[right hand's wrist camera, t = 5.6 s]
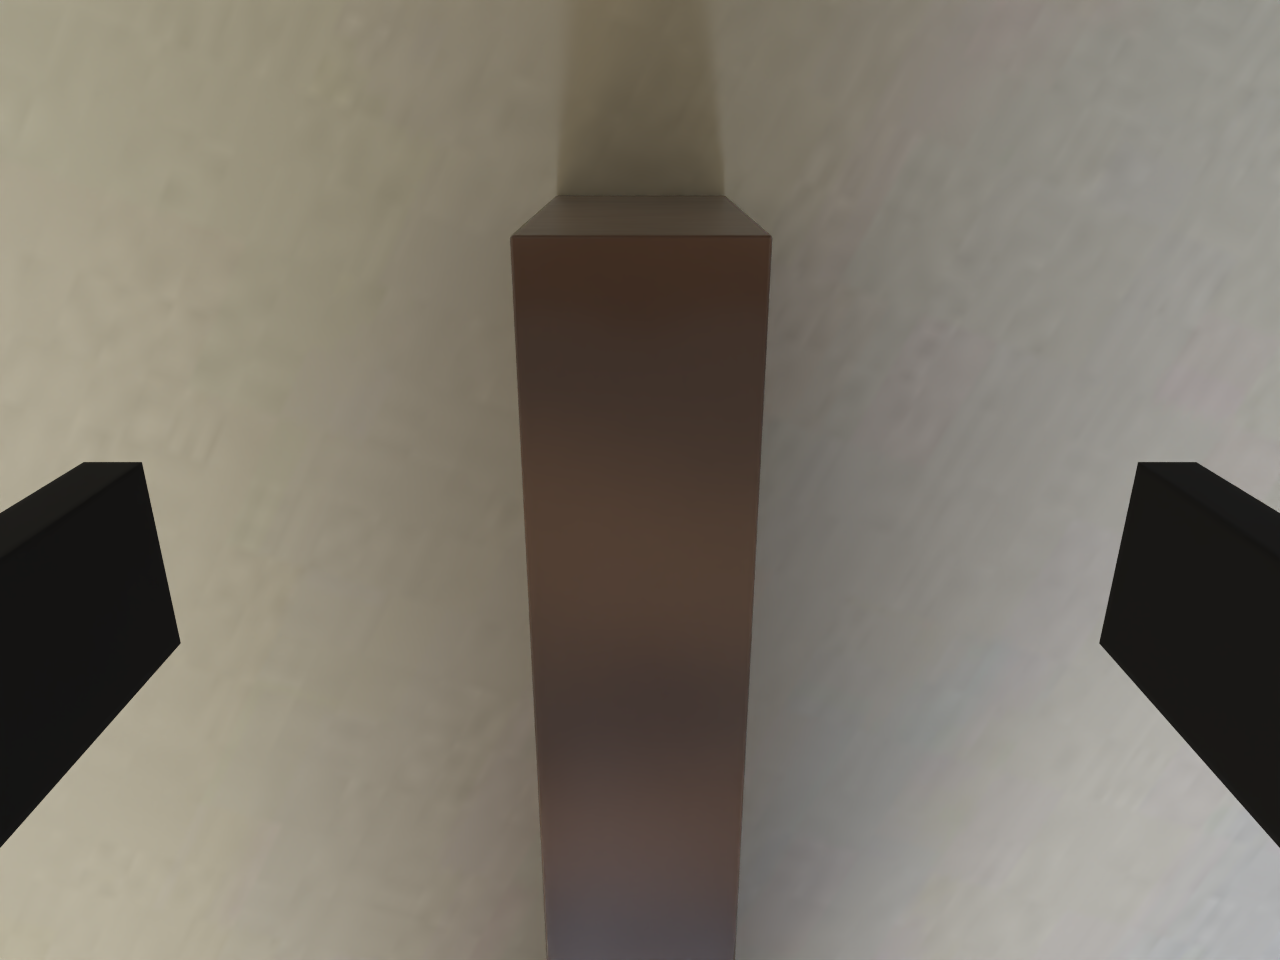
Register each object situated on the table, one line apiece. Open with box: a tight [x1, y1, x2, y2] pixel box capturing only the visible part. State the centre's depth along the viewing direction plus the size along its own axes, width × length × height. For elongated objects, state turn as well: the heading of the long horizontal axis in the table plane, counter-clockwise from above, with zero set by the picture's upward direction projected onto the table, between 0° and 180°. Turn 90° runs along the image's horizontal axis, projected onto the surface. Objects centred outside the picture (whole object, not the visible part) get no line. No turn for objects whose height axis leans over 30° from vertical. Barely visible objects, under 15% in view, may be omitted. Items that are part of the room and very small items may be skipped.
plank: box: [510, 196, 772, 960], centre depth 28 cm, size 34×5×10 cm, turn 0°
